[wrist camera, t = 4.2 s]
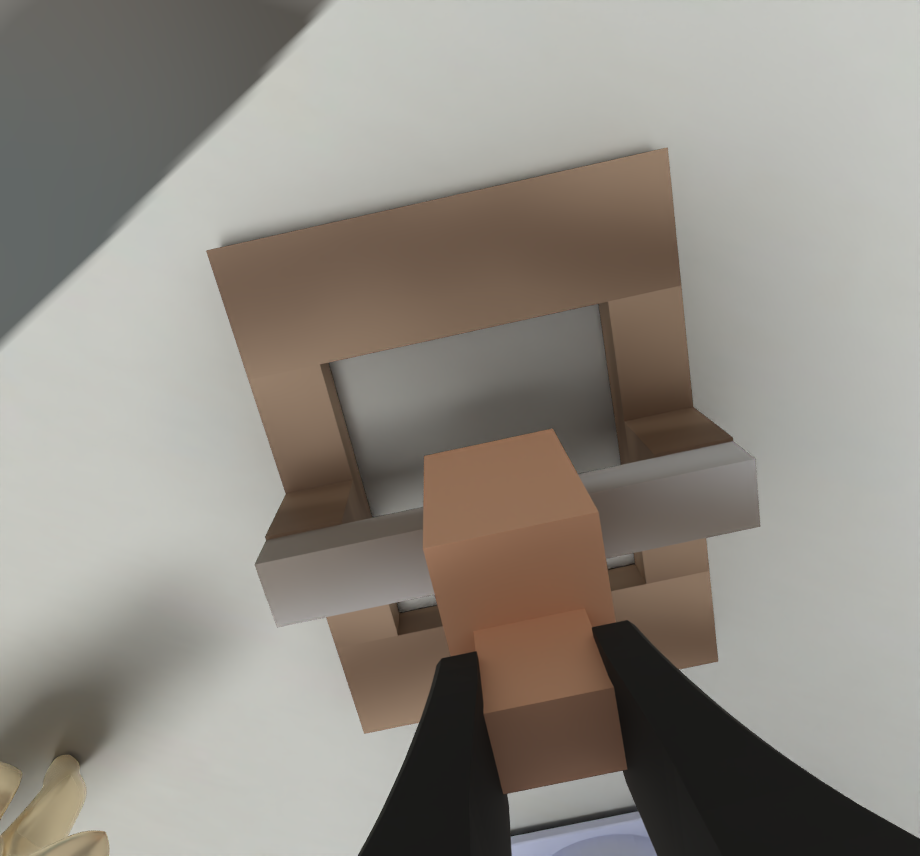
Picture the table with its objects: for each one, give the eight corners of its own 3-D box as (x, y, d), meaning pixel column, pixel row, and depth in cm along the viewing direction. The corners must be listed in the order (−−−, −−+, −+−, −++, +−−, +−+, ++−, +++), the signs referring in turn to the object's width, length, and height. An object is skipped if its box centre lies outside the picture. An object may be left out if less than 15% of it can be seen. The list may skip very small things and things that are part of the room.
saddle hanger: (585, 617, 17) (672, 846, 11) (469, 641, 17) (492, 882, 11) (552, 428, 15) (633, 576, 9) (424, 455, 15) (421, 619, 9)
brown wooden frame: (704, 638, 23) (775, 751, 18) (367, 707, 23) (352, 836, 19) (652, 151, 18) (733, 132, 13) (220, 247, 18) (146, 263, 13)
